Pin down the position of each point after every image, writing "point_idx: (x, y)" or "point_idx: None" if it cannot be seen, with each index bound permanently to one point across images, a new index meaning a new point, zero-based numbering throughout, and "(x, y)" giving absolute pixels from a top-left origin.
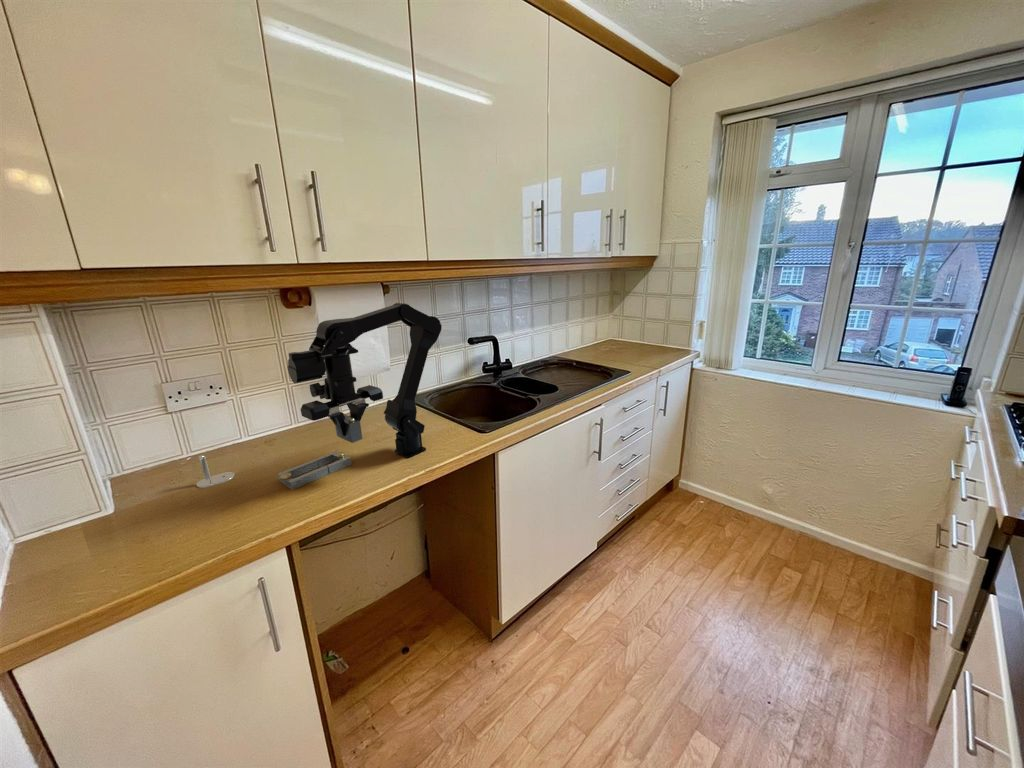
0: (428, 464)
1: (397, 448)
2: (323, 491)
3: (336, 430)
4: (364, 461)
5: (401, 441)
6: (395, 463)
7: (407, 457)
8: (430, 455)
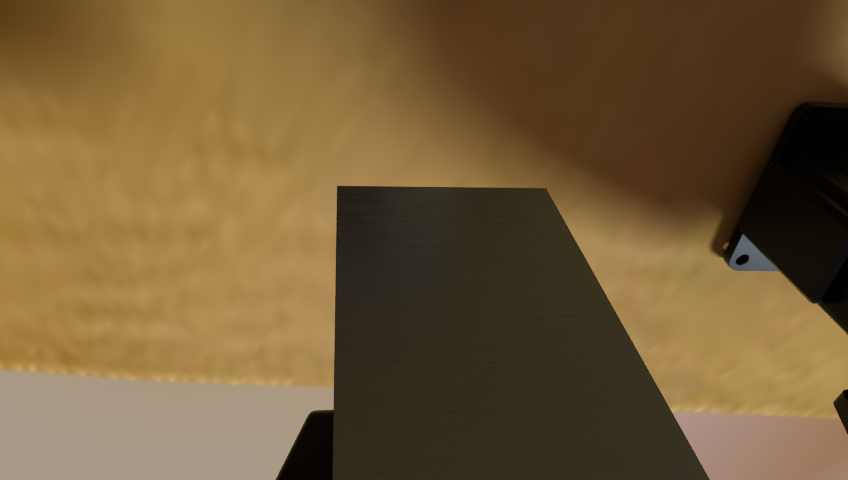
0: (684, 383)
1: (785, 204)
2: (66, 171)
3: (337, 270)
4: (567, 13)
5: (818, 302)
6: (631, 244)
7: (725, 257)
8: (793, 324)
